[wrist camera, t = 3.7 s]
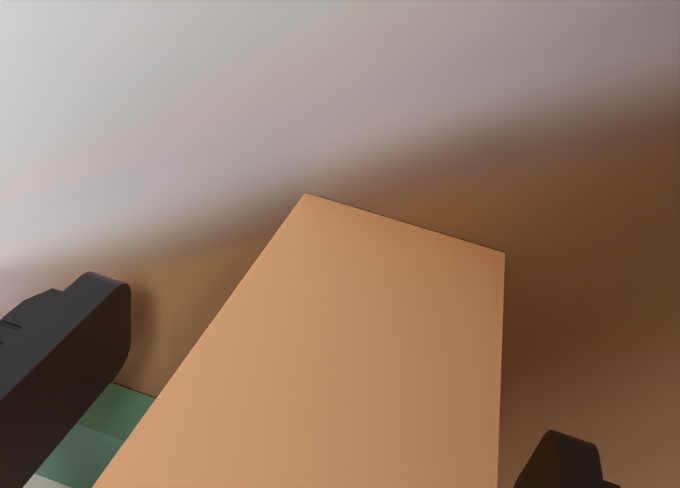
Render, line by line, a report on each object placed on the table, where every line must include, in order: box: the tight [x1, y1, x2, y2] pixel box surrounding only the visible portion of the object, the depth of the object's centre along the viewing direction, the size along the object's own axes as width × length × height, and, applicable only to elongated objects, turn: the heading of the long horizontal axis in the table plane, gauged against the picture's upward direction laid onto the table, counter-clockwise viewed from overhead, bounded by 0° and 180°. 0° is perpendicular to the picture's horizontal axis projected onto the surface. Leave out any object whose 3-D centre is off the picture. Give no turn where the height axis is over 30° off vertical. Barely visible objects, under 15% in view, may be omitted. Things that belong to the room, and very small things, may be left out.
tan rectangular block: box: [92, 193, 505, 488], centre depth 10 cm, size 4×6×7 cm
